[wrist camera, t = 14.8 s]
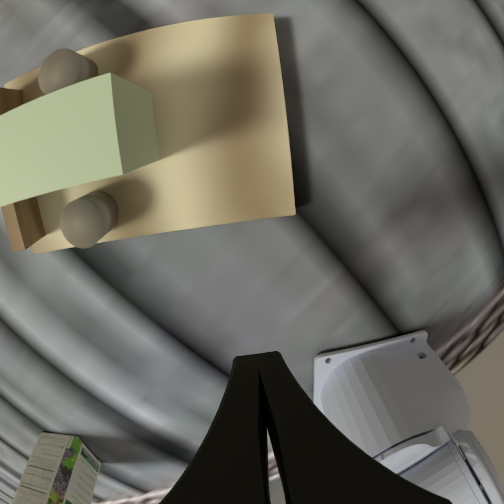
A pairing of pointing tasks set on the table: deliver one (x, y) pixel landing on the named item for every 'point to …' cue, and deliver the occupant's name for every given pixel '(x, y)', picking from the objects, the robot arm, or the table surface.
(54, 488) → the printed cardboard box
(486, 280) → the table surface
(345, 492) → the robot arm
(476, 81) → the table surface
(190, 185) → the board
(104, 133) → the block
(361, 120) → the table surface
